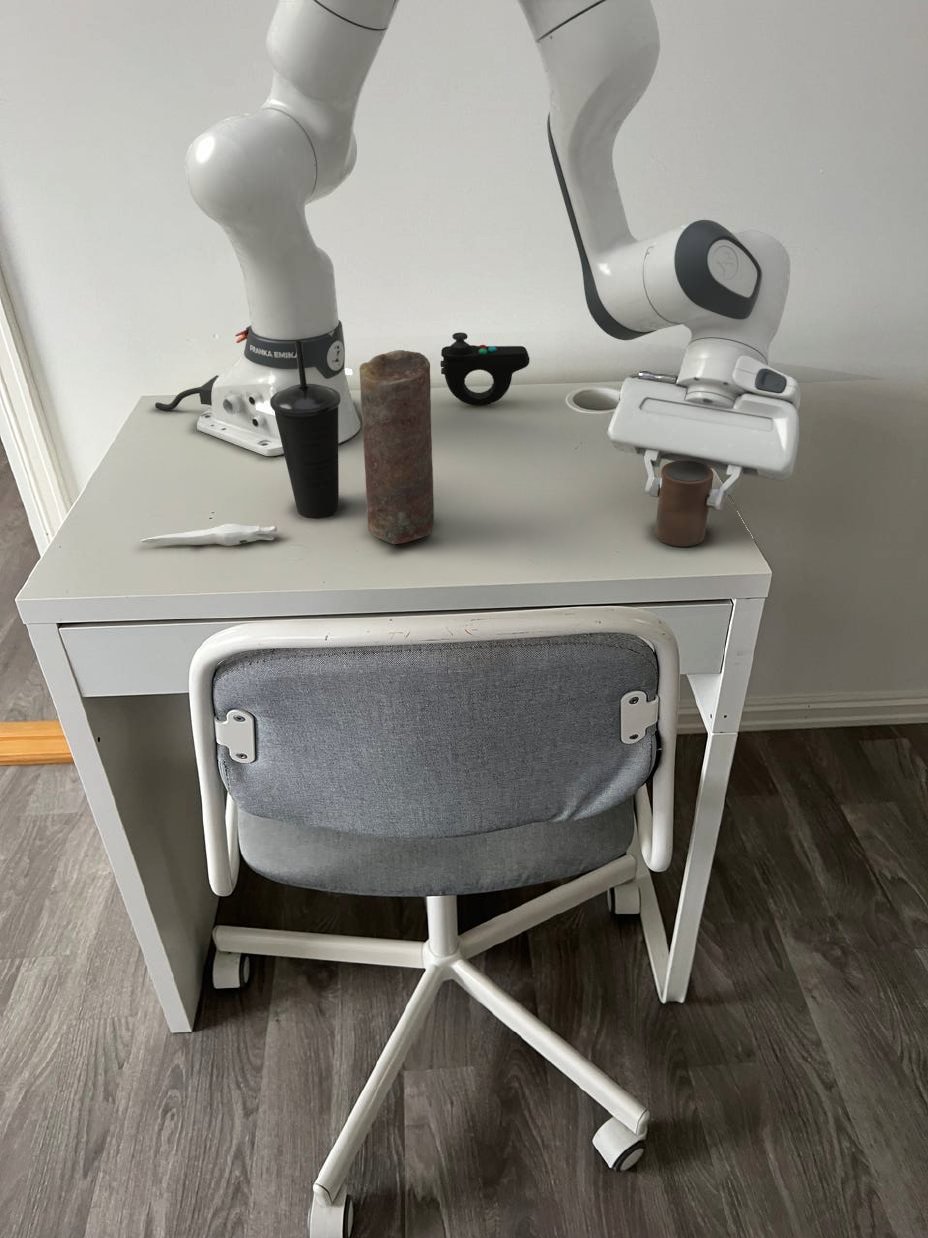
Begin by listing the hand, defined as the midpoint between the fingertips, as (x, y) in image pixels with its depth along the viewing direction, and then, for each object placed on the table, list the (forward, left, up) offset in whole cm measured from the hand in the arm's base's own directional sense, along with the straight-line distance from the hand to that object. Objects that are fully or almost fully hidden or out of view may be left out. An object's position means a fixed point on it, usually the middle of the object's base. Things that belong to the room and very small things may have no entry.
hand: (682, 501), depth 105 cm
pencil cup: (0, +1, -4) cm, 4 cm away
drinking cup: (-40, -11, -5) cm, 42 cm away
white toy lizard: (-46, -23, -5) cm, 52 cm away
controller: (-36, +25, -5) cm, 44 cm away
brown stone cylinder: (-28, -12, -5) cm, 31 cm away
